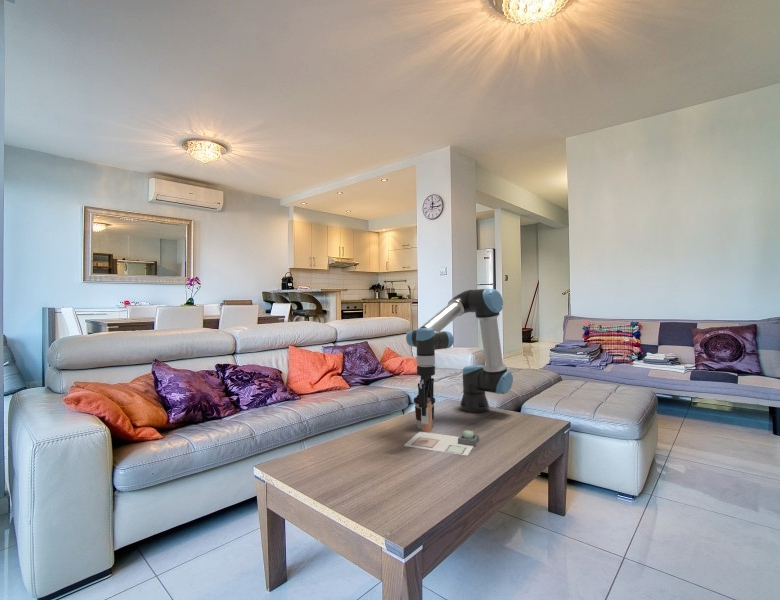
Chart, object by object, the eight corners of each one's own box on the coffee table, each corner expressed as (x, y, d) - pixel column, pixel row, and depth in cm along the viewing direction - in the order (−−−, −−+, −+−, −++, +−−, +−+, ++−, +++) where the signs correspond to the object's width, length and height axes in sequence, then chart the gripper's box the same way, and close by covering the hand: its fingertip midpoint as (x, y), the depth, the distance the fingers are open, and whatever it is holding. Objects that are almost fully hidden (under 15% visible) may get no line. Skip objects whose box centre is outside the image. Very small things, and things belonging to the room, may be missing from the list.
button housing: (462, 437, 159) (462, 433, 159) (479, 440, 156) (478, 435, 156) (457, 443, 153) (457, 438, 153) (475, 445, 150) (475, 440, 150)
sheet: (419, 432, 168) (419, 431, 168) (478, 440, 157) (478, 439, 157) (403, 446, 152) (403, 445, 152) (467, 456, 141) (467, 455, 141)
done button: (464, 437, 157) (464, 429, 157) (474, 438, 155) (474, 431, 156) (462, 440, 154) (462, 432, 154) (472, 442, 152) (472, 434, 152)
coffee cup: (435, 424, 179) (434, 392, 179) (436, 431, 169) (435, 397, 169) (414, 424, 180) (413, 392, 180) (413, 431, 170) (413, 397, 170)
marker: (423, 428, 159) (423, 396, 160) (432, 430, 158) (432, 397, 158) (420, 431, 156) (420, 398, 156) (429, 432, 154) (429, 399, 154)
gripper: (424, 362, 166) (425, 415, 166) (409, 367, 151) (410, 426, 151) (440, 363, 163) (441, 417, 163) (427, 369, 148) (428, 429, 148)
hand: (426, 421), depth 157 cm, fingers closed on marker, 4 cm apart
